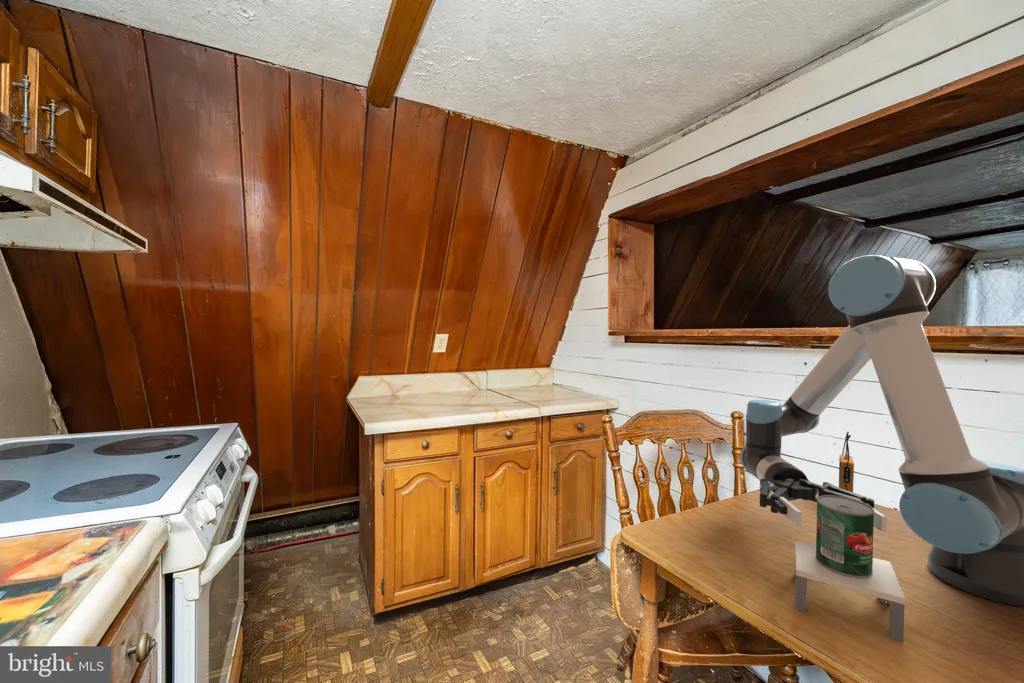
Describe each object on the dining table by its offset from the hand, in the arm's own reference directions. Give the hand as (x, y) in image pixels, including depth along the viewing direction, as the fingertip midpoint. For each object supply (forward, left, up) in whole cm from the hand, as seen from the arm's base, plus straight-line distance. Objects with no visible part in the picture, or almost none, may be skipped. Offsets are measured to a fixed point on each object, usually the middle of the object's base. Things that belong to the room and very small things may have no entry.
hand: (841, 521), depth 74 cm
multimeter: (-1, -51, -15) cm, 53 cm away
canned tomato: (0, 0, -8) cm, 8 cm away
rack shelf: (0, 0, -15) cm, 15 cm away
